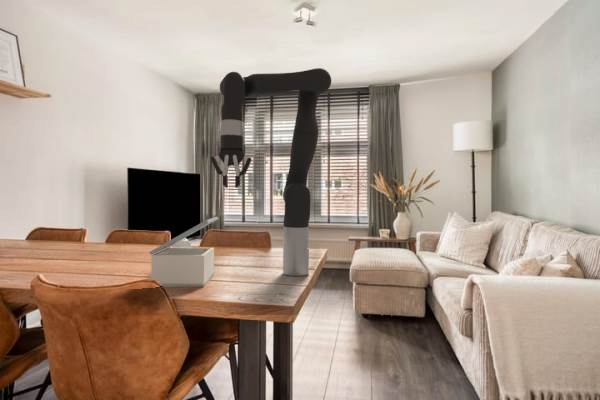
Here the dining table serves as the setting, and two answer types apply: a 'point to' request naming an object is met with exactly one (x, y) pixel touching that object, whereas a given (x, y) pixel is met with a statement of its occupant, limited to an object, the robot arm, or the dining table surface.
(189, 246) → the white rounded piece
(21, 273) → the dining table surface
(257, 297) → the dining table surface
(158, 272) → the carton
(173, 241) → the carton lid
